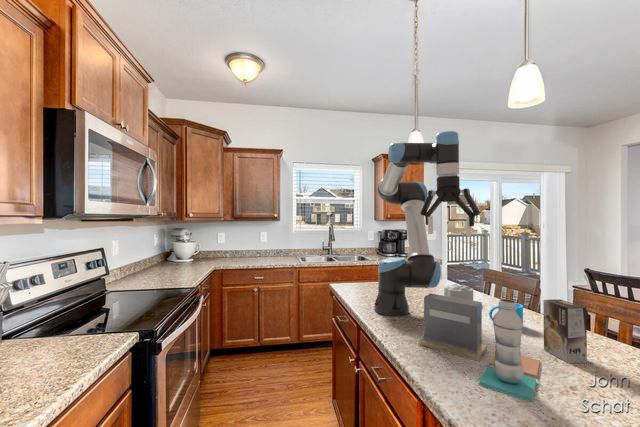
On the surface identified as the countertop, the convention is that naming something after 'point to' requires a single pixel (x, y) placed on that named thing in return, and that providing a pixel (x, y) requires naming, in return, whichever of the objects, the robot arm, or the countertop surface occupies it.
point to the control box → (453, 326)
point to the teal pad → (509, 385)
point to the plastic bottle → (508, 343)
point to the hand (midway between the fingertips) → (449, 234)
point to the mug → (518, 311)
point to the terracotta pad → (526, 365)
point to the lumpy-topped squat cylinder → (459, 291)
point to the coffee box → (565, 330)
